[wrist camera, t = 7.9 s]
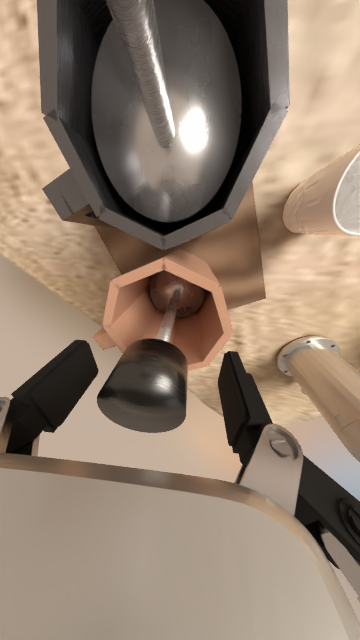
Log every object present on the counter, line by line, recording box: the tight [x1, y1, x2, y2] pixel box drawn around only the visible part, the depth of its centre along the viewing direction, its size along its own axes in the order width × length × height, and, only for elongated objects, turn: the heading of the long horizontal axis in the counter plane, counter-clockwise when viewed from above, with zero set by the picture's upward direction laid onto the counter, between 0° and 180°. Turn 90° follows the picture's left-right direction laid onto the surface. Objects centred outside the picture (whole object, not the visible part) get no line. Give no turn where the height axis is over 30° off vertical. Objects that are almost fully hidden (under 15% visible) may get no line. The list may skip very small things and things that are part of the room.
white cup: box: [283, 144, 360, 236], centre depth 17 cm, size 8×8×10 cm
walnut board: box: [95, 182, 266, 310], centre depth 24 cm, size 28×24×2 cm
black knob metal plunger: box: [97, 270, 205, 433], centre depth 15 cm, size 9×9×19 cm
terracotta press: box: [93, 249, 233, 370], centre depth 21 cm, size 12×15×16 cm
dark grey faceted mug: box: [37, 0, 290, 250], centre depth 14 cm, size 12×15×16 cm
